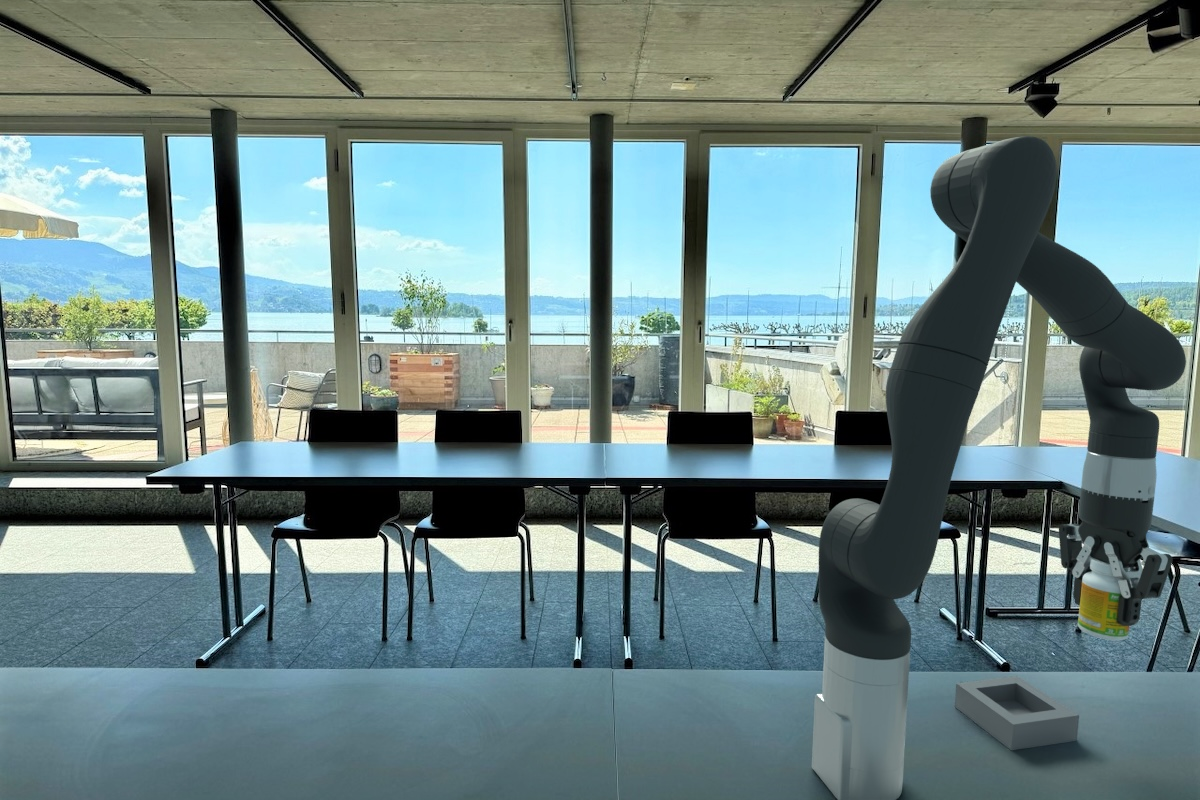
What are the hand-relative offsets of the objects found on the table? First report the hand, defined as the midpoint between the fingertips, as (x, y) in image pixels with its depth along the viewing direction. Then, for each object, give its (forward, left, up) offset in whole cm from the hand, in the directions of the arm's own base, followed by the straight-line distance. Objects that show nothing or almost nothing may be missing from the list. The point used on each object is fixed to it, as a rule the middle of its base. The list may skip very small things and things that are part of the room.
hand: (1104, 614), depth 89 cm
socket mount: (-10, +3, -16) cm, 19 cm away
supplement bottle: (0, 0, -3) cm, 3 cm away
